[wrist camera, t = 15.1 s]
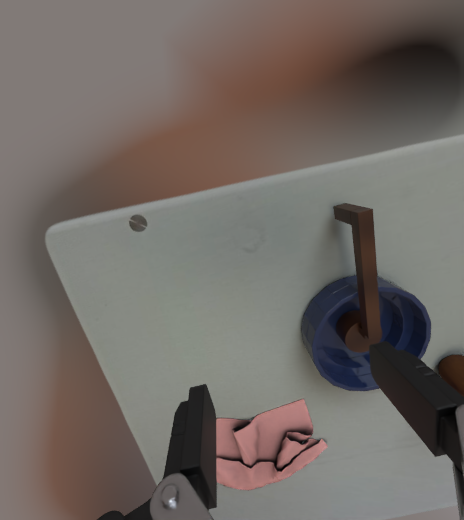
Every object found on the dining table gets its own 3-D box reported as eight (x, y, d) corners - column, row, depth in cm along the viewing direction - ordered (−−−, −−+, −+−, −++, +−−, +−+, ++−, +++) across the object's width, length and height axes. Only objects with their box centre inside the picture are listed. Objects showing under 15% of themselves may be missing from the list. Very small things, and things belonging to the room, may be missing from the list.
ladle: (319, 210, 30) (340, 217, 25) (360, 199, 30) (390, 204, 25) (337, 343, 37) (357, 371, 32) (371, 335, 37) (397, 361, 32)
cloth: (199, 483, 45) (198, 499, 43) (224, 387, 39) (225, 400, 37) (304, 493, 47) (309, 509, 45) (343, 404, 41) (350, 417, 39)
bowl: (282, 306, 35) (292, 325, 31) (383, 253, 34) (409, 264, 29) (325, 381, 40) (340, 408, 35) (416, 336, 38) (444, 358, 33)
